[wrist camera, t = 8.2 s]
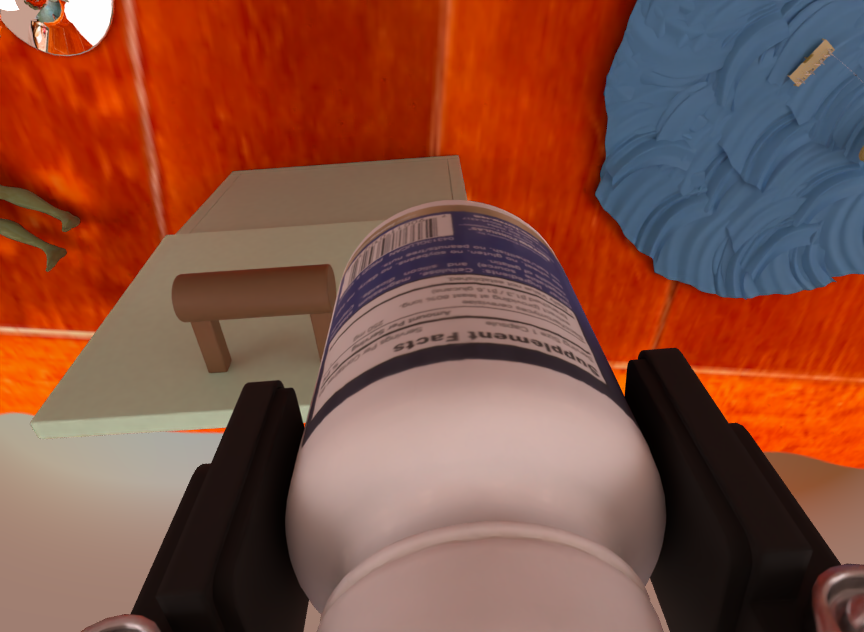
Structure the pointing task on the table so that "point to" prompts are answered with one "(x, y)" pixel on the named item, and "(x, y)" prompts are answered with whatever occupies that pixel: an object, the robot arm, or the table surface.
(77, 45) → the wineglass
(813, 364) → the table surface
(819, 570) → the robot arm
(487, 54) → the table surface
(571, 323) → the pill bottle
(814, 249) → the blue flat rumpled sheet
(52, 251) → the figurine
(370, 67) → the table surface
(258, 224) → the chest
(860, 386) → the table surface
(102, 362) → the lid
